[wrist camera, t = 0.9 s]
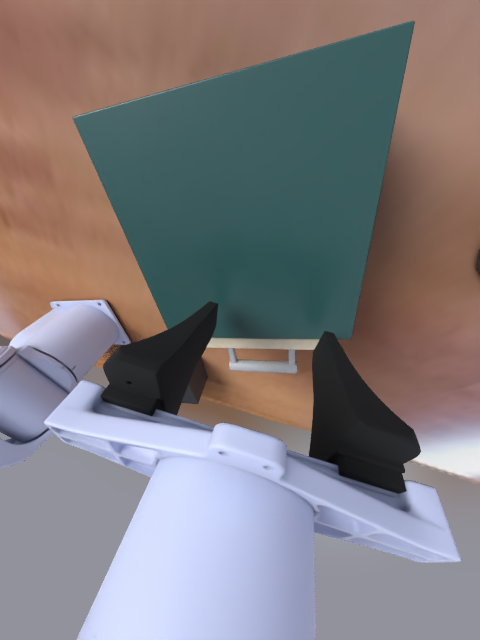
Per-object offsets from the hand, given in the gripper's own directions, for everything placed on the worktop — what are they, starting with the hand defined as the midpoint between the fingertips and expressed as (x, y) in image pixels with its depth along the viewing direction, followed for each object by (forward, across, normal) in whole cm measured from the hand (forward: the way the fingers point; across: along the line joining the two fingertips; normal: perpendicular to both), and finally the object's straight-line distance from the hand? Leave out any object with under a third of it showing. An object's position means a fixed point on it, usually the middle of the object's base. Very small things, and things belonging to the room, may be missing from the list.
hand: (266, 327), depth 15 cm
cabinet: (+10, +3, -4) cm, 11 cm away
